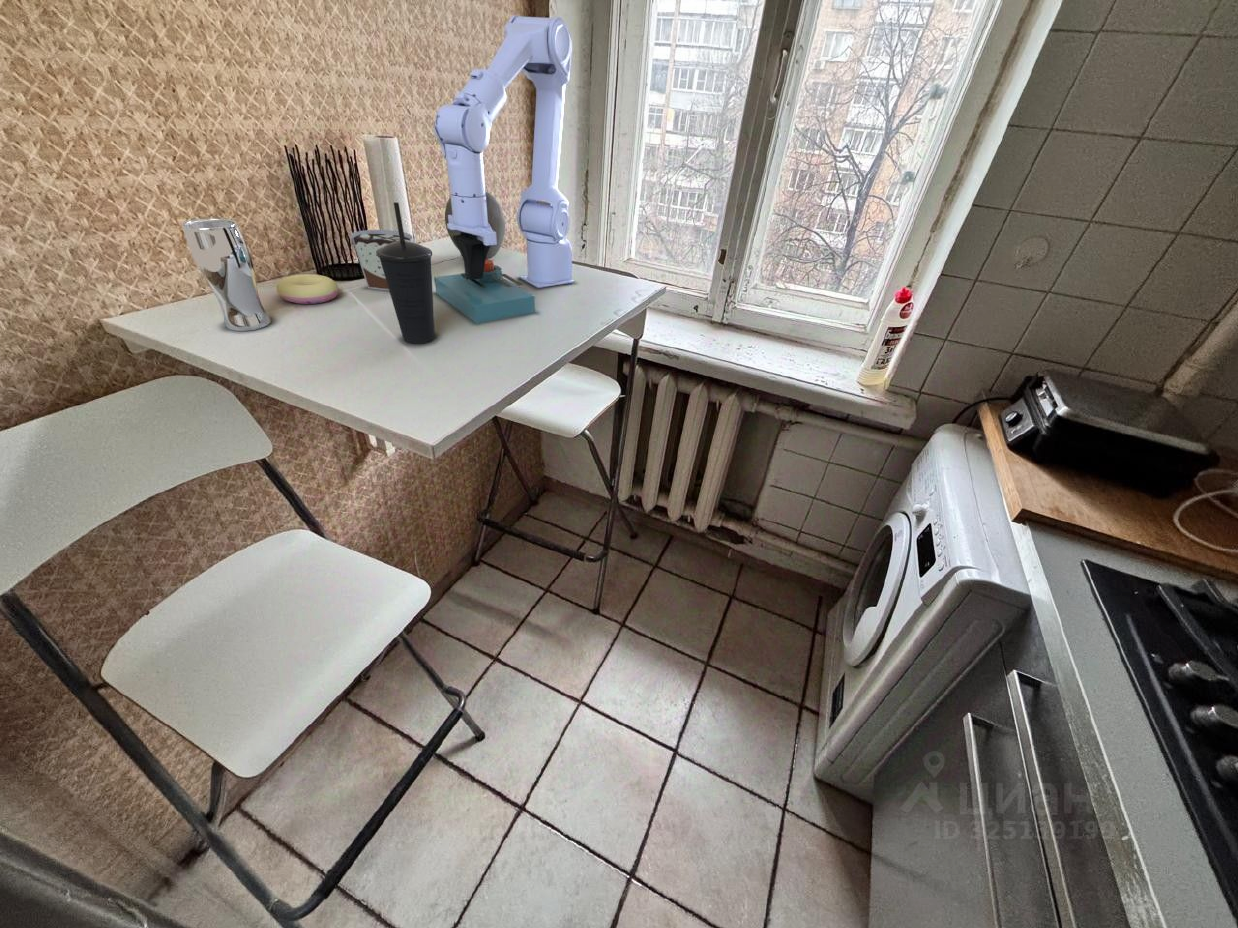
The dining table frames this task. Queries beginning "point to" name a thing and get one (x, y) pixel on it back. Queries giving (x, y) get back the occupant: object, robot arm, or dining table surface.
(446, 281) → the teal control box
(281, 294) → the donut
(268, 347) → the dining table surface
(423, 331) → the drinking cup
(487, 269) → the button
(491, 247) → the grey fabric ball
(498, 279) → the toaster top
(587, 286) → the dining table surface
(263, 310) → the chrome curved vase
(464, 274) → the slider
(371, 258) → the food container
